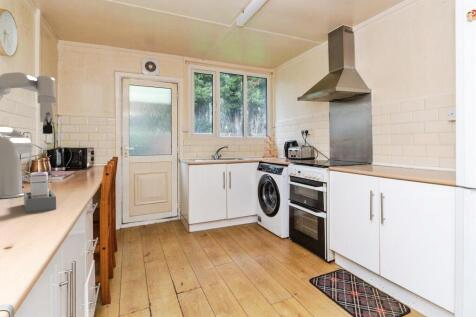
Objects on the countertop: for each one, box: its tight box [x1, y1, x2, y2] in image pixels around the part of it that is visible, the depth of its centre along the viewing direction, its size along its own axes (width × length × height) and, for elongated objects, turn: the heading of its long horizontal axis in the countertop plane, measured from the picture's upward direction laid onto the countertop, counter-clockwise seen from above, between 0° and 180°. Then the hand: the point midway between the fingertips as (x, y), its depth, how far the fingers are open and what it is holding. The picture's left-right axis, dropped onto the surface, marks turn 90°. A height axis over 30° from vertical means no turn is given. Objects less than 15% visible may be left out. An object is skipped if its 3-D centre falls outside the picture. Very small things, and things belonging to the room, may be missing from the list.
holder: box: [23, 189, 57, 214], centre depth 111 cm, size 19×10×6 cm, turn 42°
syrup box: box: [29, 171, 49, 199], centre depth 108 cm, size 6×6×14 cm
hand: (47, 133), depth 131 cm, fingers open, 9 cm apart
